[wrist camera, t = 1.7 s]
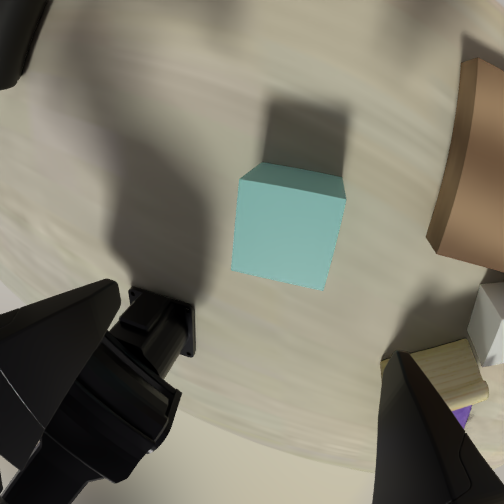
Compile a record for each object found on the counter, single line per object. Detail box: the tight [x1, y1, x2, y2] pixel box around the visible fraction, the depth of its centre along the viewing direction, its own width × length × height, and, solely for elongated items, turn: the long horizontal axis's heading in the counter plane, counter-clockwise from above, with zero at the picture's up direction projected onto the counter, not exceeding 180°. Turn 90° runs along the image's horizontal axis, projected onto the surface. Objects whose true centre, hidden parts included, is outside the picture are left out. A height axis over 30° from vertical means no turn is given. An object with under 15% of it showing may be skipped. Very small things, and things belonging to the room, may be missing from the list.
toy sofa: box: [380, 339, 489, 429], centre depth 20 cm, size 21×9×10 cm, turn 21°
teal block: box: [231, 162, 346, 291], centre depth 16 cm, size 5×5×5 cm
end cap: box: [0, 0, 47, 90], centre depth 13 cm, size 10×7×7 cm
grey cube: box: [467, 282, 504, 367], centre depth 15 cm, size 4×4×4 cm
